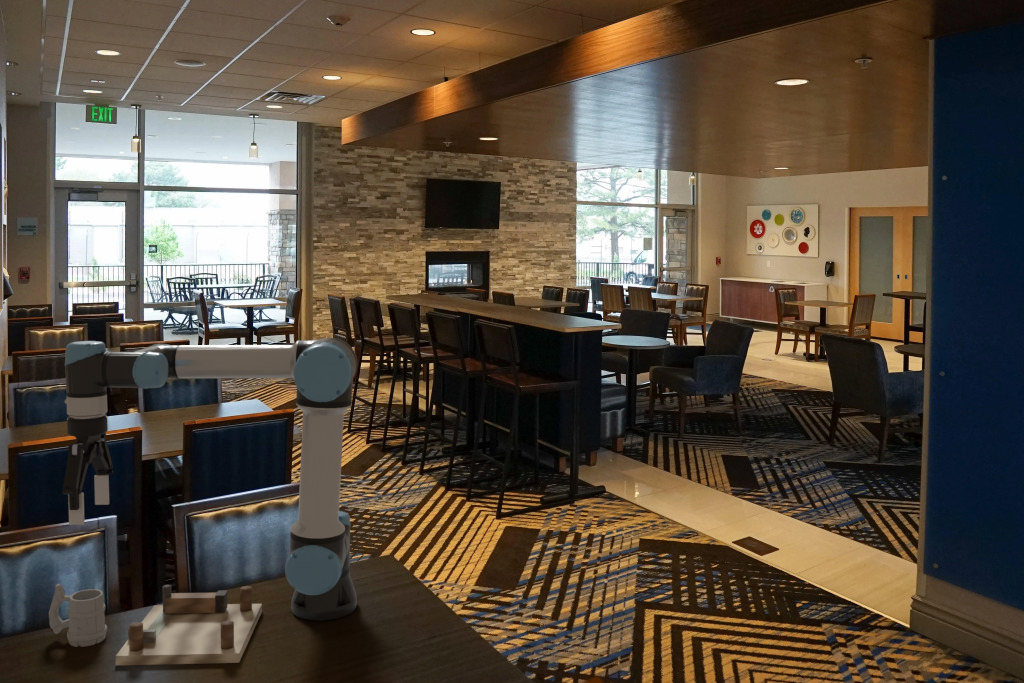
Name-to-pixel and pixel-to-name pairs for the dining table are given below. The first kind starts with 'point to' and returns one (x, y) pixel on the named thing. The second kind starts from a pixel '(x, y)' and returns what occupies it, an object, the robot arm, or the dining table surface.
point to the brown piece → (194, 602)
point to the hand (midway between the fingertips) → (90, 514)
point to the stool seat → (192, 635)
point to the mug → (80, 616)
